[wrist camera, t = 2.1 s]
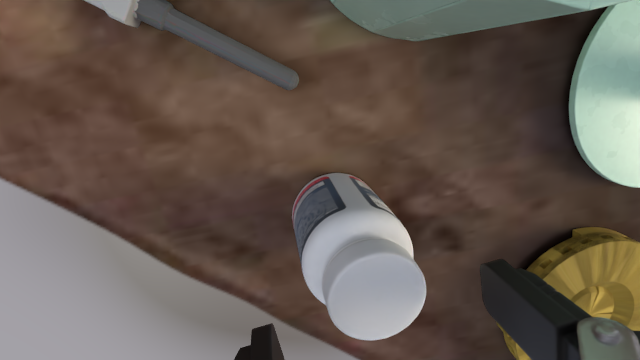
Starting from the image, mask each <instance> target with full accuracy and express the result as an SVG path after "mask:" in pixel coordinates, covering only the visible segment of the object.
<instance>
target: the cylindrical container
mask: <svg viewBox="0 0 640 360" xmlns="http://www.w3.org/2000/svg"><path fill="white" fill-rule="evenodd" d="M330 1H331V2H332V3H333V4H334V6H335V7H336V8H337V9H338V10H339V11H341V12H342V13H343V14H344V15H345V16H347V17H348V18H349V19H350V20H352V21H353V22H355V23H356V24H358V25H360V26H361V27H363V28H365V29H367V30H369V31H371V32H373V33H376V34H379V35H382V36H386V37H389V38H396V39H403V40H410V41H422V40H427V39H433V38H438V37H444V36H450V35H455V34H461V33H466V32H472V31H478V30H483V29H489V28H494V27H500V26H506V25H511V24H517V23H522V22H528V21H534V20H539V19H545V18H550V17H556V16H562V15H567V14H573V13H578V12H584V11H590V10H594V9H598V8H602V7H607V6H611V5H615V4H619V3H623V2H628V1H632V0H330Z"/></svg>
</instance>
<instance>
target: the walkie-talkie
mask: <svg viewBox="0 0 640 360" xmlns="http://www.w3.org/2000/svg"><path fill="white" fill-rule="evenodd" d="M84 1H86V2H88V3H90V4H92V5H94V6H96V7H98V8H100V9H102V10H104V11H106V13H107V14H108V16H109V17H111V18H113V19H115V20H117V21H119V22H122V23H124V24H126V25H129V26H132V27H136V28H138V27H139V25H140V23H141V21H143V22H145V23H147V24H149V25H151V26H153V27H155V28H157V29H159V30H161V31H163V30H165V29H166V30H168V31H170V32H172V33H174V34H176V35H178V36H180V37H182V38H184V39H186V40H188V41H190V42H192V43H194V44H196V45H198V46H200V47H202V48H204V49H206V50H208V51H210V52H212V53H214V54H216V55H218V56H220V57H222V58H224V59H226V60H228V61H230V62H232V63H234V64H236V65H238V66H240V67H242V68H244V69H246V70H248V71H250V72H252V73H254V74H256V75H258V76H260V77H262V78H264V79H266V80H268V81H270V82H272V83H274V84H276V85H278V86H280V87H282V88H284V89H286V90H292V89H294V88H295V87H297V85H298V83H299V77H298V74H297V73H296V72H295V71H294V70H292V69H290V68H288V67H286V66H284V65H282V64H280V63H278V62H276V61H274V60H273V59H271V58H269V57H267V56H265V55H263V54H261V53H259V52H257V51H255V50H253V49H251V48H249V47H247V46H245V45H243V44H242V43H240V42H238V41H236V40H234V39H232V38H230V37H228V36H226V35H224V34H222V33H220V32H218V31H216V30H214V29H212V28H211V27H209V26H207V25H205V24H203V23H201V22H199V21H197V20H195V19H193V18H191V17H189V16H187V15H185V14H183V13H181V12H180V11H178V10H176V9H174V7H173V5H172V4H171V3H169V2H168V1H166V0H84Z"/></svg>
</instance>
